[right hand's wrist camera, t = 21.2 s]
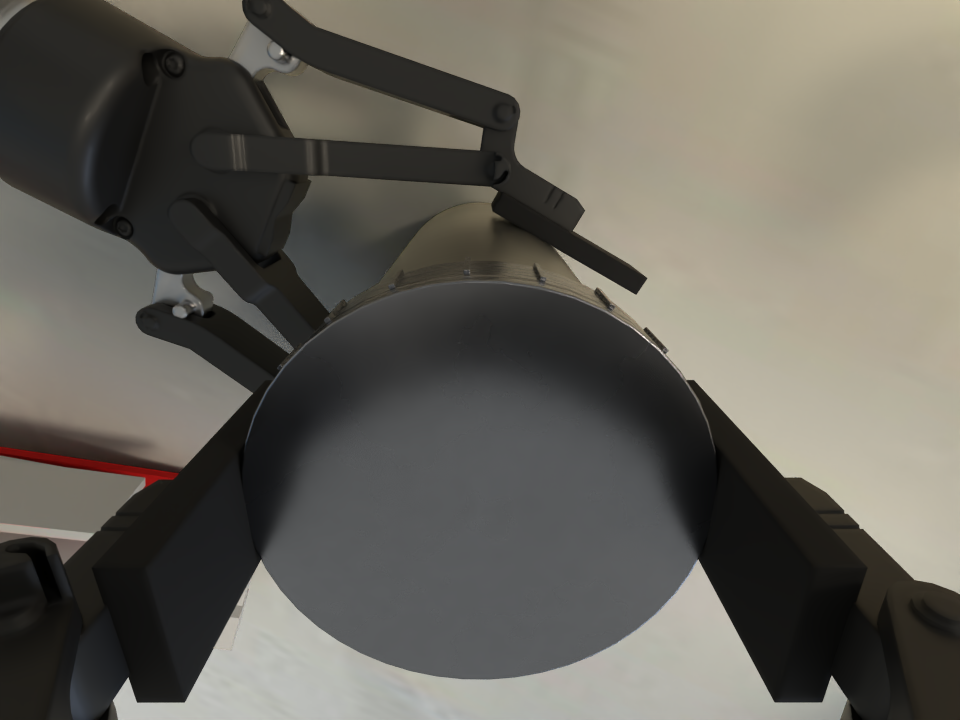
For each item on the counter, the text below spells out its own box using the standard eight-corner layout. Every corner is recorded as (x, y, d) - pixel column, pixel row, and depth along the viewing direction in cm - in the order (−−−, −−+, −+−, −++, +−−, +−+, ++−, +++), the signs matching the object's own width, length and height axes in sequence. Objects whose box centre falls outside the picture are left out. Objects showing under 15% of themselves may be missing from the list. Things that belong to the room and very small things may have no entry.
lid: (309, 626, 14) (287, 689, 13) (230, 267, 11) (183, 288, 9) (669, 613, 14) (694, 675, 12) (709, 243, 10) (752, 261, 9)
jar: (580, 324, 30) (725, 574, 12) (440, 379, 31) (389, 678, 13) (525, 174, 27) (610, 220, 9) (372, 241, 28) (196, 393, 11)
